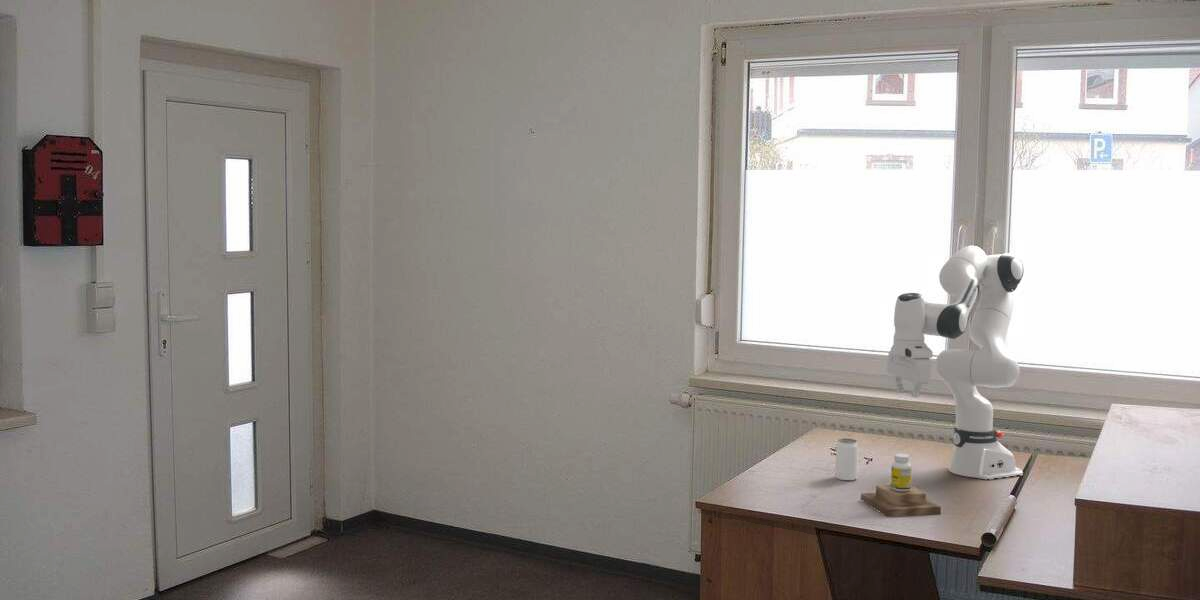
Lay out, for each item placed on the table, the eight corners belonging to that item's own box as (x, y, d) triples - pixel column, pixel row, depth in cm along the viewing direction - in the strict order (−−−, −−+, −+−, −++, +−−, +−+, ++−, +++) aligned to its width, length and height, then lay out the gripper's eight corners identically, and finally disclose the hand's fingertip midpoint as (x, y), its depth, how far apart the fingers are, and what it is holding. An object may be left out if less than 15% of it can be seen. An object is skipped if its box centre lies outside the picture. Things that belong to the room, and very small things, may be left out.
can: (857, 481, 319) (858, 443, 318) (835, 480, 321) (836, 442, 320) (856, 476, 326) (857, 438, 325) (835, 475, 327) (836, 437, 326)
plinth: (912, 497, 303) (912, 480, 302) (940, 513, 287) (941, 495, 287) (860, 500, 300) (861, 483, 299) (886, 516, 284) (887, 498, 283)
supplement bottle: (888, 486, 295) (889, 453, 295) (906, 486, 296) (907, 452, 295) (894, 492, 290) (895, 457, 289) (913, 491, 290) (915, 457, 290)
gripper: (882, 343, 319) (881, 387, 321) (915, 353, 299) (914, 401, 301) (901, 342, 320) (900, 386, 322) (935, 352, 300) (934, 400, 302)
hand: (907, 393), depth 311 cm, fingers open, 8 cm apart
